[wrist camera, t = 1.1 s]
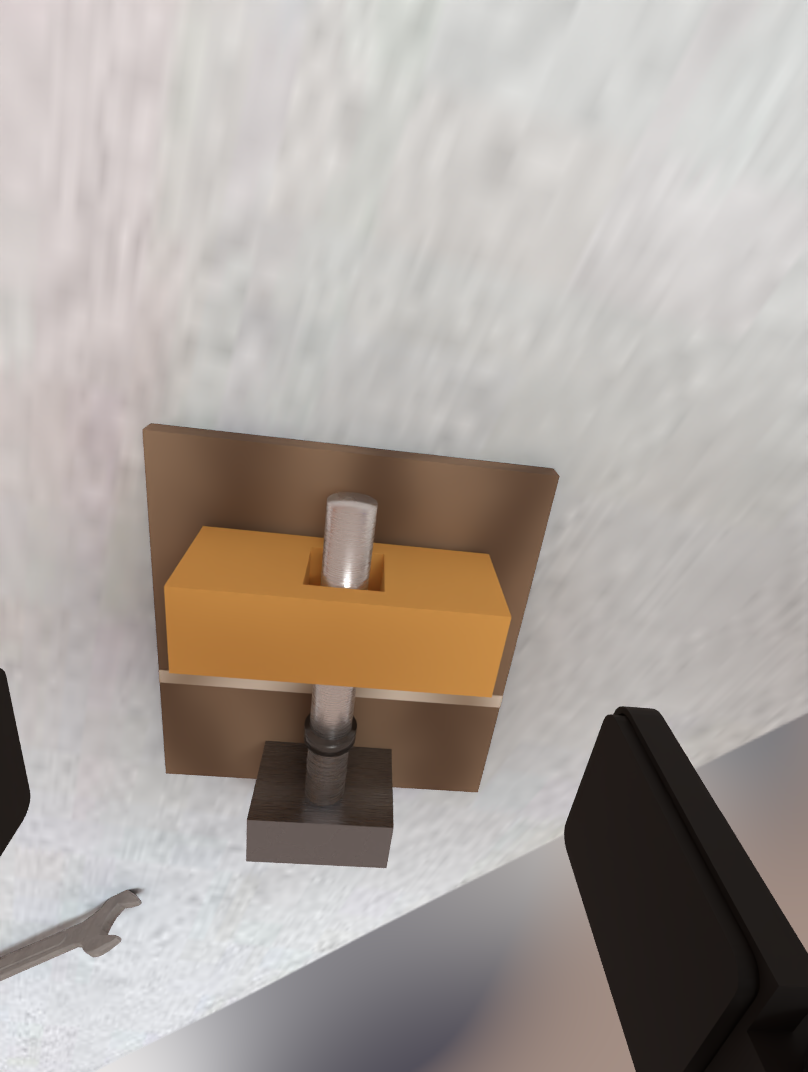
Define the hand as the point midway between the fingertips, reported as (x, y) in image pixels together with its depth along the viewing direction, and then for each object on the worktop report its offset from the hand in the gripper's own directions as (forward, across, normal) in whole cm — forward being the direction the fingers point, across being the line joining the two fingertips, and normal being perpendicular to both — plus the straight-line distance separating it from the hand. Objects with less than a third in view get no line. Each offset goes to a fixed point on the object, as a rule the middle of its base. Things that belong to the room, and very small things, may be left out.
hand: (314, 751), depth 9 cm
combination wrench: (+19, +18, +39) cm, 47 cm away
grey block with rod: (+17, 0, +11) cm, 20 cm away
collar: (+17, 0, +7) cm, 18 cm away
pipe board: (+18, 0, +11) cm, 21 cm away
